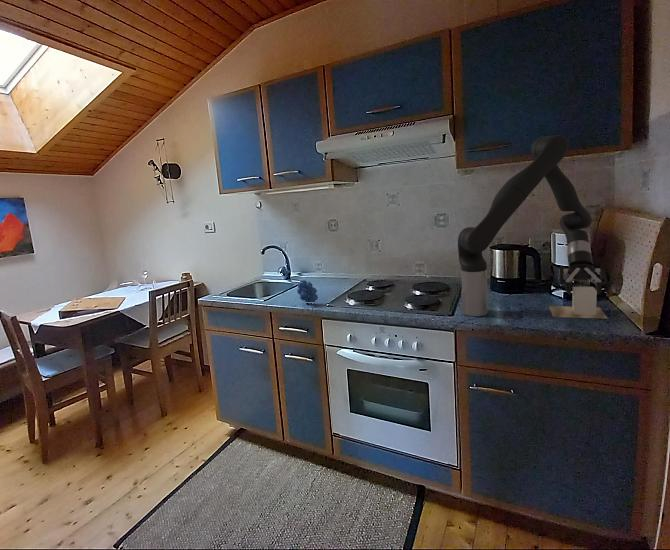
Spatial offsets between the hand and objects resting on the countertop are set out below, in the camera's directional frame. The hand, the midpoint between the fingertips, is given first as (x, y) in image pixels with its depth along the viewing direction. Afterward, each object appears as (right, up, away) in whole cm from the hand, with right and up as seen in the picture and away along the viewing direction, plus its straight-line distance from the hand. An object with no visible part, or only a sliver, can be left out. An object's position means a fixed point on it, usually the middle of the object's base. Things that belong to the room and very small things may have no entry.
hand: (583, 293), depth 135 cm
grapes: (-100, -8, +52) cm, 113 cm away
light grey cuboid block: (+1, -7, +2) cm, 7 cm away
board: (-1, -8, +3) cm, 8 cm away
